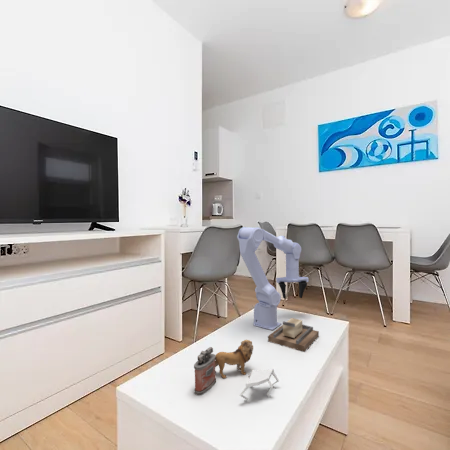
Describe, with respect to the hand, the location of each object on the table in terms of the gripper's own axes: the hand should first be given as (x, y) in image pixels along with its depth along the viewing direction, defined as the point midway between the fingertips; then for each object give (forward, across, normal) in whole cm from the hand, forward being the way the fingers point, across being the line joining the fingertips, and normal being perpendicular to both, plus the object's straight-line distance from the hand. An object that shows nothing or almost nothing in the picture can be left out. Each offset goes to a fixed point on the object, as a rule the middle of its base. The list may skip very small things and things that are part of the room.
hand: (292, 297), depth 126 cm
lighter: (+10, -39, -48) cm, 63 cm away
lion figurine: (+10, -32, -42) cm, 53 cm away
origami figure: (+10, -26, -52) cm, 59 cm away
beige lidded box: (+7, -7, -22) cm, 24 cm away
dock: (+9, -6, -21) cm, 24 cm away
